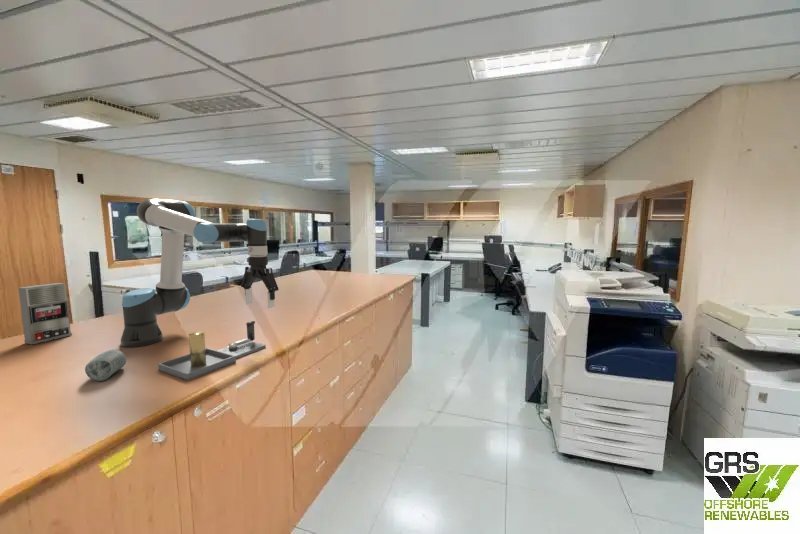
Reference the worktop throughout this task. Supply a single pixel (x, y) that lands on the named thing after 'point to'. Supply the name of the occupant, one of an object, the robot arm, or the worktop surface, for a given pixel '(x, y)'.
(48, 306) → the cassette tape recorder
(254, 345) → the crank plate
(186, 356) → the tray
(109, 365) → the spool
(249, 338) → the crank lever
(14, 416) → the worktop surface
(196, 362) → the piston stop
